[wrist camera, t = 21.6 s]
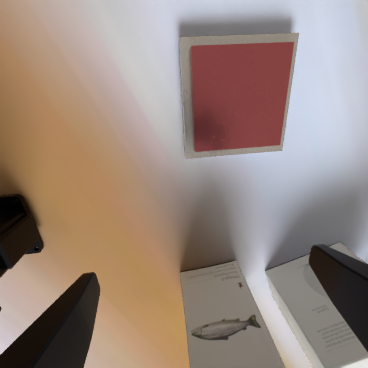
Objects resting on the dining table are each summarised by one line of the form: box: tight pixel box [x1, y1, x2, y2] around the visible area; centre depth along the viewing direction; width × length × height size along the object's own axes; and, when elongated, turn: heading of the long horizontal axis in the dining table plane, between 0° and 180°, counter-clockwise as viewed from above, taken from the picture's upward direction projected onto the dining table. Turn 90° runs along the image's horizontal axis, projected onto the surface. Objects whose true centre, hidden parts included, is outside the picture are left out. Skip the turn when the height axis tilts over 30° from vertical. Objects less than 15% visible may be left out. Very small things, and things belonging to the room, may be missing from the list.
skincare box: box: [265, 242, 368, 368], centre depth 22 cm, size 10×6×10 cm, turn 112°
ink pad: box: [179, 33, 299, 159], centre depth 16 cm, size 9×9×2 cm
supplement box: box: [180, 261, 285, 368], centre depth 20 cm, size 7×7×13 cm
